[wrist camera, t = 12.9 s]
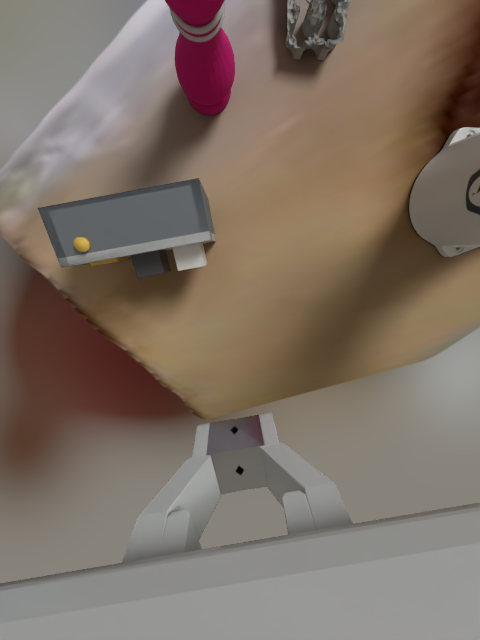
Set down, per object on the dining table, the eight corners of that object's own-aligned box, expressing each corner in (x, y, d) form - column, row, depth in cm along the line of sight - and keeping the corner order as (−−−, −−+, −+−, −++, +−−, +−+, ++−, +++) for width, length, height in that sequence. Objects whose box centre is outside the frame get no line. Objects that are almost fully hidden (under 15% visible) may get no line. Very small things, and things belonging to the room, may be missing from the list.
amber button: (120, 230, 34) (107, 229, 30) (129, 259, 35) (117, 261, 32) (95, 235, 34) (78, 234, 30) (105, 264, 35) (90, 266, 32)
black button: (163, 242, 35) (155, 242, 31) (170, 270, 36) (163, 273, 32) (139, 247, 35) (128, 247, 31) (147, 274, 36) (137, 278, 32)
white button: (201, 235, 35) (197, 234, 31) (207, 263, 36) (204, 266, 32) (176, 240, 35) (170, 239, 31) (183, 268, 36) (178, 270, 32)
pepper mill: (211, 132, 35) (191, 1, 16) (171, 90, 34) (96, -111, 15) (244, 87, 34) (265, -113, 15) (205, 41, 32) (170, -250, 13)
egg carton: (289, -48, 30) (298, -91, 26) (347, -39, 31) (364, -81, 27) (279, 60, 33) (286, 35, 30) (332, 66, 34) (346, 42, 30)
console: (207, 198, 38) (197, 176, 26) (216, 241, 40) (210, 239, 28) (95, 219, 38) (33, 207, 26) (109, 260, 40) (57, 267, 28)
